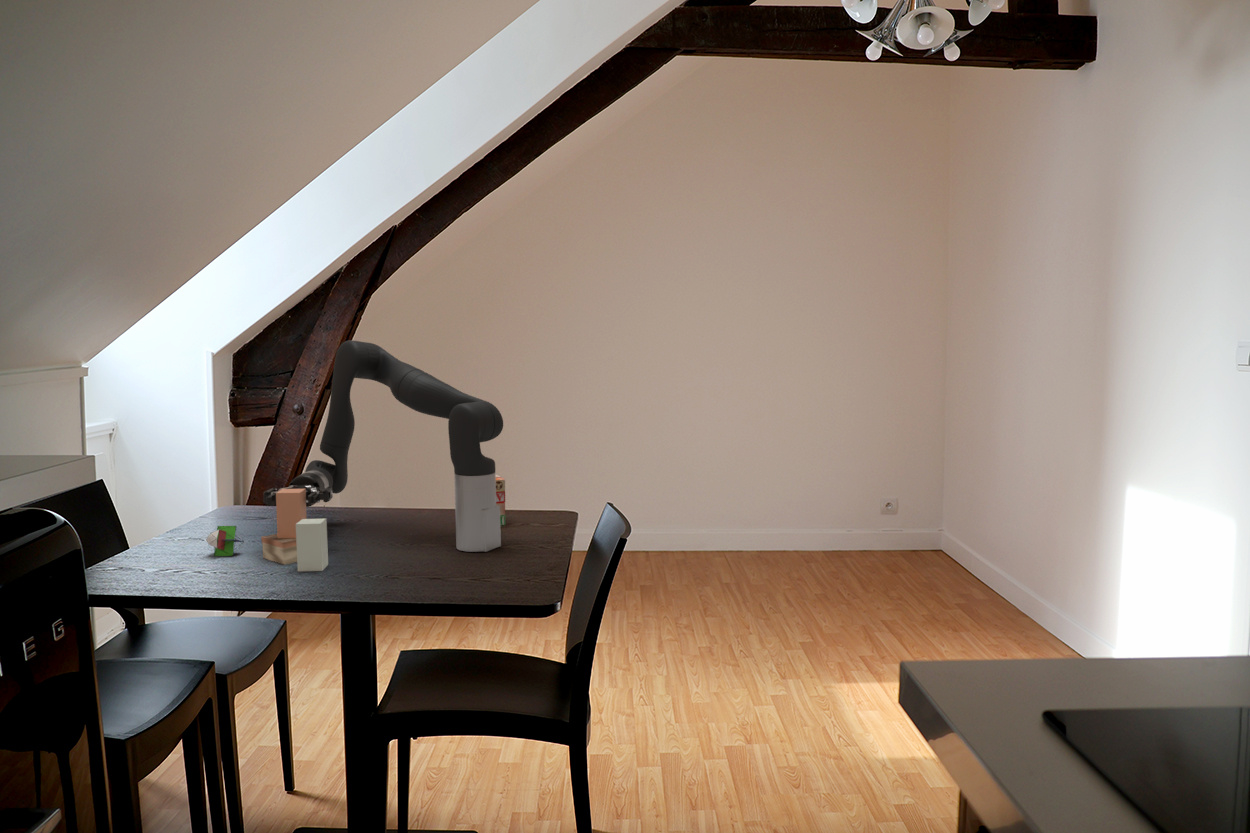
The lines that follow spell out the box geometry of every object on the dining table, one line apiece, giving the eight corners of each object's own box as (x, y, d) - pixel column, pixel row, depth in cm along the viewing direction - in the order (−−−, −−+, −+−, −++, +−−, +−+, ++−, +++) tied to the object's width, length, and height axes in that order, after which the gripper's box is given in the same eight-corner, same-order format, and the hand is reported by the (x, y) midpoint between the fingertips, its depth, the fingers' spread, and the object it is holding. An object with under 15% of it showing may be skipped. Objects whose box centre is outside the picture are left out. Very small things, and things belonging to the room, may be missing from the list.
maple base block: (322, 557, 202) (322, 535, 202) (284, 565, 195) (283, 542, 195) (300, 551, 208) (299, 529, 208) (262, 559, 201) (261, 536, 201)
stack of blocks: (459, 513, 248) (458, 468, 247) (482, 511, 251) (481, 466, 249) (482, 529, 229) (481, 480, 228) (506, 526, 231) (505, 478, 230)
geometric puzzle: (221, 539, 209) (209, 516, 204) (250, 539, 209) (239, 516, 204) (210, 564, 204) (198, 541, 199) (240, 564, 204) (229, 541, 198)
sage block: (328, 564, 195) (326, 518, 194) (322, 570, 190) (320, 523, 189) (304, 565, 195) (302, 519, 194) (297, 571, 190) (295, 524, 189)
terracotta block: (307, 532, 204) (305, 488, 203) (301, 538, 199) (299, 492, 198) (284, 533, 204) (282, 488, 203) (277, 538, 199) (275, 493, 198)
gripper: (277, 473, 216) (255, 484, 199) (339, 471, 217) (322, 483, 201) (279, 504, 216) (257, 518, 200) (340, 502, 217) (323, 517, 201)
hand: (289, 501), depth 200 cm, fingers open, 8 cm apart
